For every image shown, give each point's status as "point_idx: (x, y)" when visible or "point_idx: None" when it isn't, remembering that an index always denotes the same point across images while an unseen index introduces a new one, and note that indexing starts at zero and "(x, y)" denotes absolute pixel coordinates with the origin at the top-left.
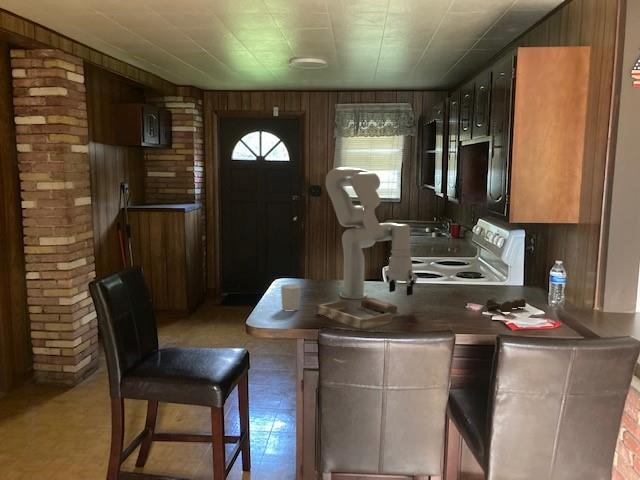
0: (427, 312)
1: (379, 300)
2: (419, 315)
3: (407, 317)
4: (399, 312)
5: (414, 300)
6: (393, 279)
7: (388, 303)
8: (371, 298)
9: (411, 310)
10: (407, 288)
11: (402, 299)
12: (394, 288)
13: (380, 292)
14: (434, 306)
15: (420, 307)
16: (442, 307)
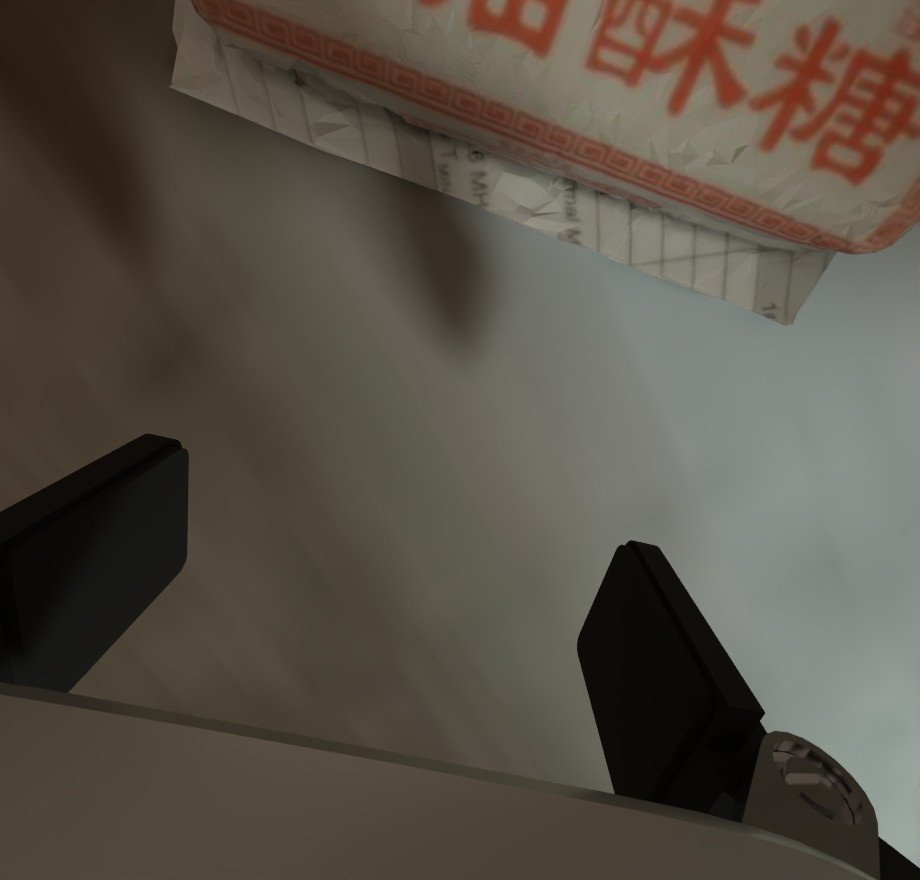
0: (85, 437)
1: (679, 90)
2: (44, 250)
3: (62, 16)
4: (234, 95)
5: (458, 744)
6: (573, 788)
7: (406, 8)
8: (913, 106)
9: (259, 404)
10: (19, 508)
11: (574, 723)
12: (595, 668)
13: (885, 825)
14: (197, 665)
15: (266, 568)
16: (127, 671)
